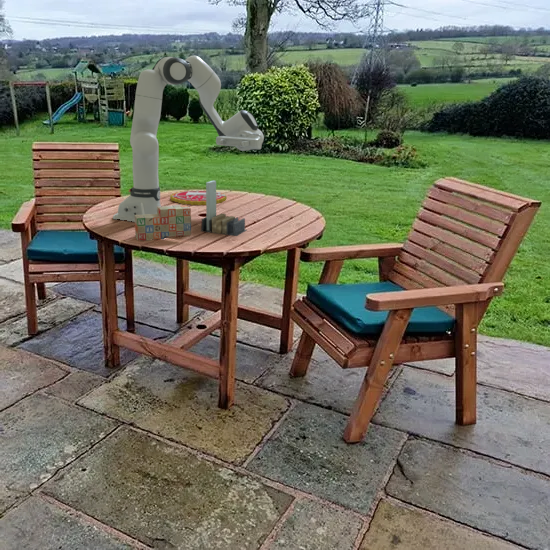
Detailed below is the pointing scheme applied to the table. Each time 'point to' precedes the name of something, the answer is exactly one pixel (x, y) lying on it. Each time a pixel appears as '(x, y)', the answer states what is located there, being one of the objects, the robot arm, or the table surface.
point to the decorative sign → (195, 197)
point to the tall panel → (210, 201)
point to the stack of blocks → (164, 223)
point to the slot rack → (232, 226)
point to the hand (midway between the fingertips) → (231, 143)
